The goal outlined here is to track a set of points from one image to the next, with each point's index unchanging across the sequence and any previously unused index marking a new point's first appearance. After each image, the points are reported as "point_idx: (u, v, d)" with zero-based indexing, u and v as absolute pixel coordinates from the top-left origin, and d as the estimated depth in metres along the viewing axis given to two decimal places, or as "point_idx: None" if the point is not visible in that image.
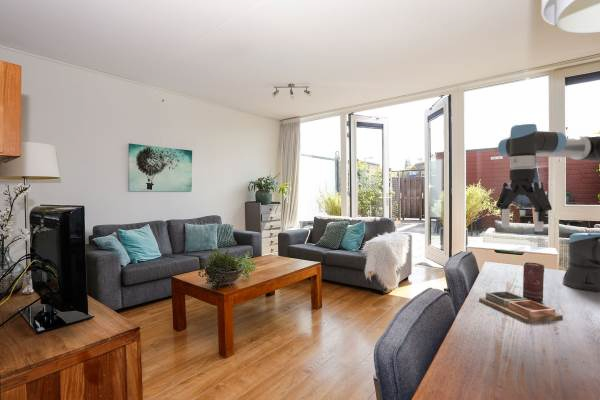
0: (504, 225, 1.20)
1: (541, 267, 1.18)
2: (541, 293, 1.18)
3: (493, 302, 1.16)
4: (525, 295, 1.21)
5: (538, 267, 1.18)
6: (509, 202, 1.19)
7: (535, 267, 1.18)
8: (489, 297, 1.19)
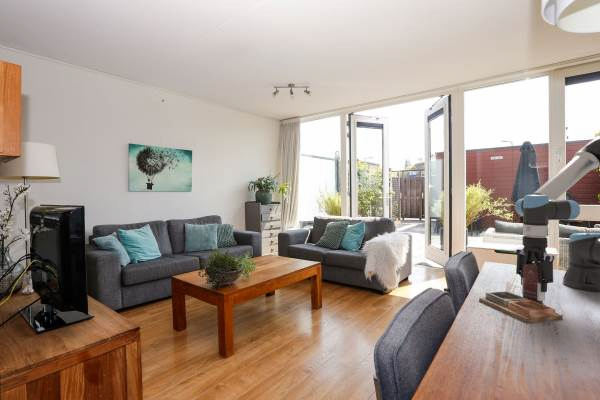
0: None
1: None
2: None
3: (493, 302, 1.16)
4: (525, 295, 1.21)
5: None
6: None
7: (535, 267, 1.18)
8: (489, 297, 1.19)
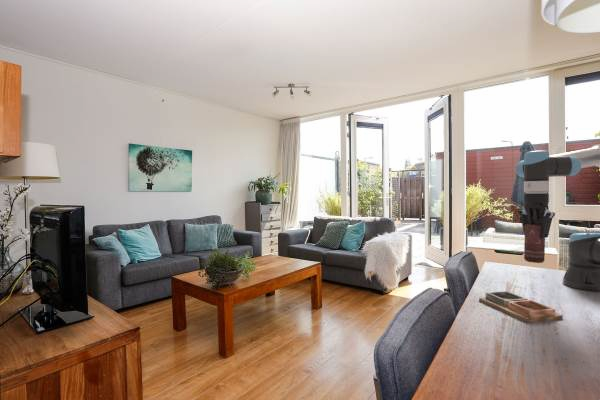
0: None
1: None
2: (542, 252, 1.17)
3: (493, 302, 1.16)
4: (526, 255, 1.20)
5: (539, 226, 1.17)
6: None
7: (536, 226, 1.17)
8: (489, 297, 1.19)
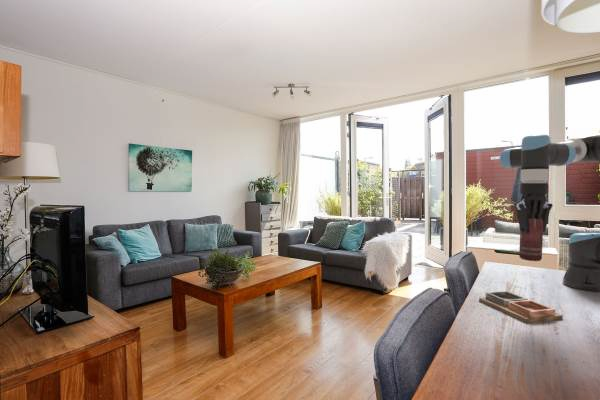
0: None
1: None
2: (524, 248, 1.06)
3: (493, 302, 1.16)
4: None
5: None
6: None
7: None
8: (489, 297, 1.19)
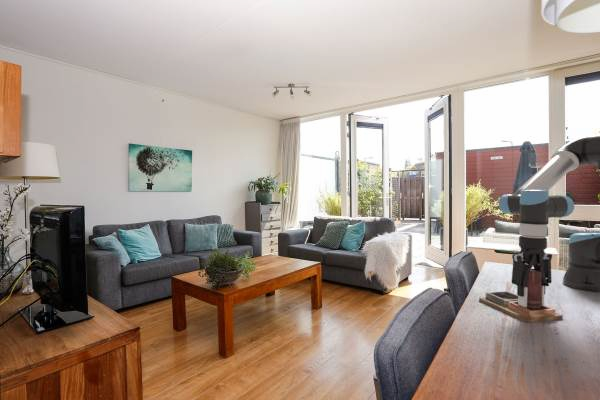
0: None
1: None
2: None
3: (493, 302, 1.16)
4: None
5: None
6: None
7: None
8: (489, 297, 1.19)
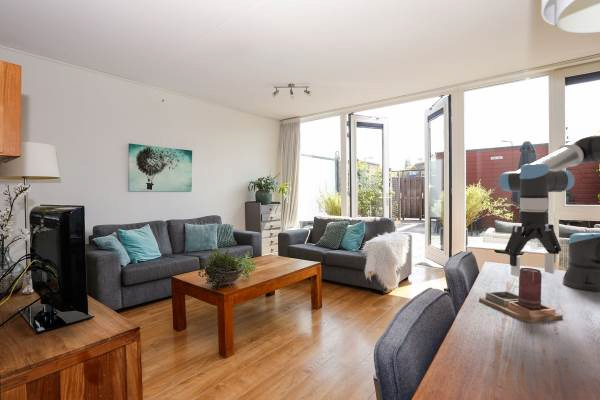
0: (546, 270, 1.09)
1: (524, 272, 1.07)
2: (523, 301, 1.07)
3: (493, 302, 1.16)
4: None
5: (521, 271, 1.08)
6: (546, 246, 1.08)
7: (520, 270, 1.09)
8: (489, 297, 1.19)
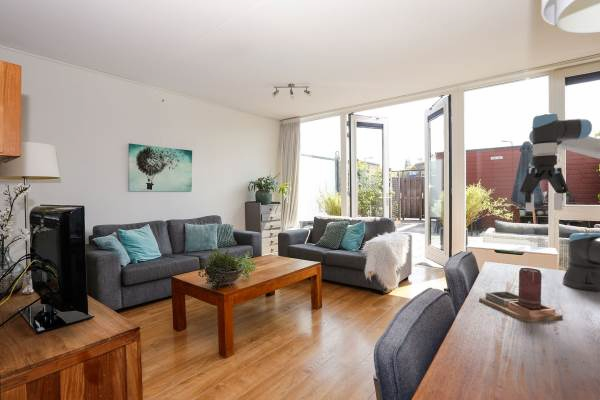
0: (555, 208, 1.26)
1: (524, 272, 1.07)
2: (523, 301, 1.07)
3: (493, 302, 1.16)
4: None
5: (521, 271, 1.08)
6: (555, 186, 1.25)
7: (520, 270, 1.09)
8: (489, 297, 1.19)
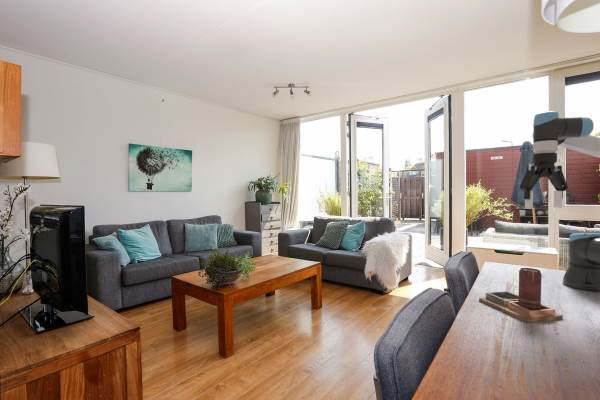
0: (554, 206, 1.27)
1: (524, 272, 1.07)
2: (523, 301, 1.07)
3: (493, 302, 1.16)
4: None
5: (521, 271, 1.08)
6: (555, 184, 1.26)
7: (519, 270, 1.09)
8: (489, 297, 1.19)
